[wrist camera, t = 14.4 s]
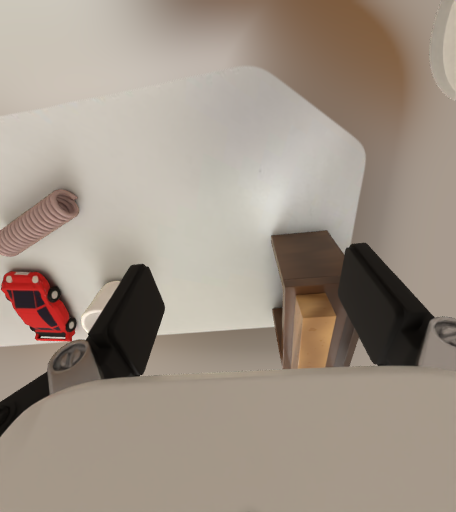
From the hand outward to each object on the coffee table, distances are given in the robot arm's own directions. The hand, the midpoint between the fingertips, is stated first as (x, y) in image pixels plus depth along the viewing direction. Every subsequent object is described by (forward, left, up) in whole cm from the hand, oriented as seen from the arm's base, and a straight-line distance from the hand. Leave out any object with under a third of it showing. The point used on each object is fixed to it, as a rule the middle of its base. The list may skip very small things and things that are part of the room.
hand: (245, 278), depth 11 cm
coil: (+35, -11, -28) cm, 46 cm away
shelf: (+3, +26, -28) cm, 39 cm away
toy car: (+55, +2, -28) cm, 61 cm away
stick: (+4, +26, -14) cm, 30 cm away
